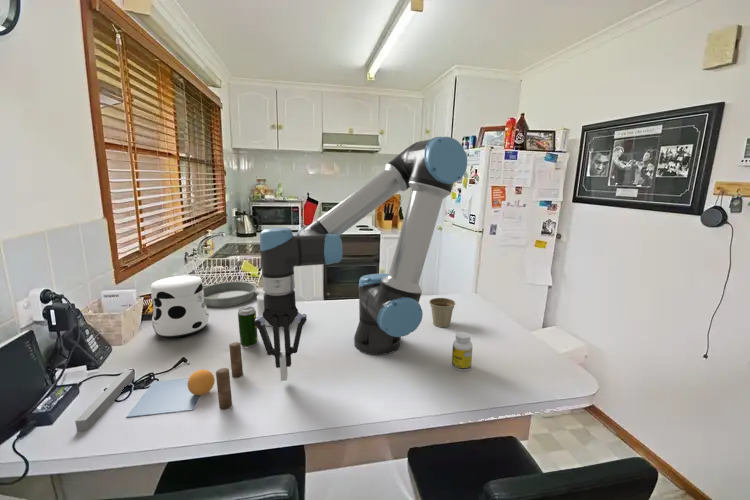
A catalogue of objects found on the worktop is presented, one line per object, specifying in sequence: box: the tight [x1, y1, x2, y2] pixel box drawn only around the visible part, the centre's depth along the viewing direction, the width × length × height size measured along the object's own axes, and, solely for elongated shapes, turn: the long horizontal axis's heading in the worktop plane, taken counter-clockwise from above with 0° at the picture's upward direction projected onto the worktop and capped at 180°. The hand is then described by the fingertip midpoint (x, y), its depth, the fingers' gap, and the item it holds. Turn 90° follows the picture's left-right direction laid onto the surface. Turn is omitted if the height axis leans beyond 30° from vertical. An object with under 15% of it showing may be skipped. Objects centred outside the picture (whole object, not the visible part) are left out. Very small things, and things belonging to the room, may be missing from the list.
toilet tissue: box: [256, 291, 272, 327], centre depth 130 cm, size 11×12×10 cm
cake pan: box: [203, 281, 257, 308], centre depth 155 cm, size 25×25×4 cm
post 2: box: [228, 341, 244, 379], centre depth 93 cm, size 3×3×9 cm
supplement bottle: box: [451, 331, 473, 372], centre depth 97 cm, size 5×5×10 cm
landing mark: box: [125, 377, 202, 418], centre depth 85 cm, size 14×14×1 cm
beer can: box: [237, 305, 259, 348], centre depth 111 cm, size 5×5×12 cm
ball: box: [187, 369, 216, 396], centre depth 86 cm, size 6×6×6 cm
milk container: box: [150, 275, 210, 338], centre depth 120 cm, size 17×17×18 cm
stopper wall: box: [74, 369, 135, 432], centre depth 83 cm, size 2×20×2 cm, turn 10°
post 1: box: [215, 367, 233, 411], centre depth 80 cm, size 3×3×9 cm
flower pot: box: [428, 297, 456, 328], centre depth 126 cm, size 9×9×9 cm
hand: (284, 377), depth 90 cm, fingers closed
